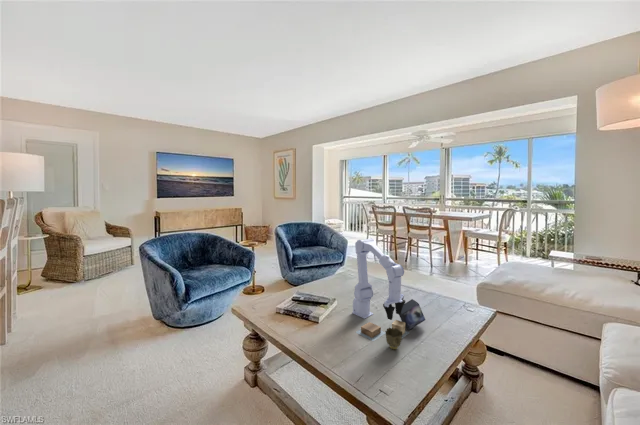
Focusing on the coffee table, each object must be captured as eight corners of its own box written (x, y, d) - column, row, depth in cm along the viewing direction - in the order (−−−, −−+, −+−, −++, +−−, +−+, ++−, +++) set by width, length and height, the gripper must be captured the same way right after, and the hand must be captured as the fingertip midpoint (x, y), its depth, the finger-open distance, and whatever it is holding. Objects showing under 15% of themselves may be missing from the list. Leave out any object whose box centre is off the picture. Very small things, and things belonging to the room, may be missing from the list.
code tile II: (387, 332, 138) (387, 332, 138) (395, 327, 144) (395, 326, 144) (401, 339, 133) (401, 338, 133) (409, 333, 138) (409, 332, 138)
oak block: (391, 333, 138) (391, 323, 137) (395, 328, 142) (395, 319, 141) (401, 336, 135) (401, 326, 134) (405, 332, 139) (405, 322, 138)
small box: (409, 331, 140) (402, 314, 138) (402, 324, 146) (395, 308, 144) (426, 320, 142) (419, 303, 140) (419, 314, 148) (412, 298, 146)
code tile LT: (355, 332, 139) (355, 332, 139) (368, 325, 146) (368, 324, 146) (373, 341, 131) (373, 341, 131) (386, 333, 138) (386, 332, 138)
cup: (389, 341, 131) (389, 325, 130) (404, 347, 126) (405, 330, 125) (382, 348, 125) (382, 332, 124) (397, 355, 120) (398, 337, 119)
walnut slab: (360, 332, 139) (360, 326, 138) (369, 327, 143) (369, 321, 143) (372, 337, 133) (372, 332, 133) (380, 332, 138) (380, 327, 138)
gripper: (393, 296, 126) (393, 324, 127) (409, 287, 135) (409, 314, 137) (380, 291, 131) (380, 319, 132) (397, 284, 141) (396, 309, 142)
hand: (394, 316), depth 135 cm, fingers open, 7 cm apart
